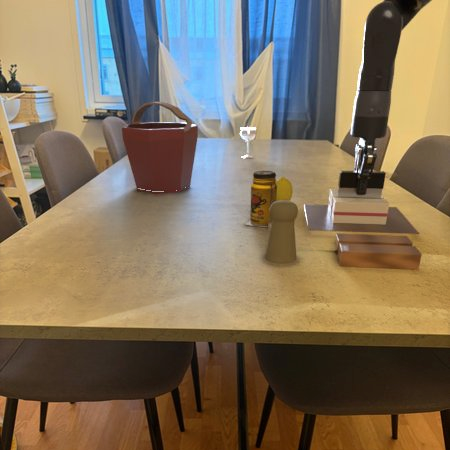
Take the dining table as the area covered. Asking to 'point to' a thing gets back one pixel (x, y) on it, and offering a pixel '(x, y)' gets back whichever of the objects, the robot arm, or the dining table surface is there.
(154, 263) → the dining table surface
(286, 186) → the lemon
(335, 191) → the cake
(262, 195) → the condiment
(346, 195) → the black and beige panel
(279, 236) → the cork
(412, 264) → the wooden card holder
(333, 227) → the cake board
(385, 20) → the robot arm
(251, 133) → the wineglass
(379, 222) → the cake slice
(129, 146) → the bucket
